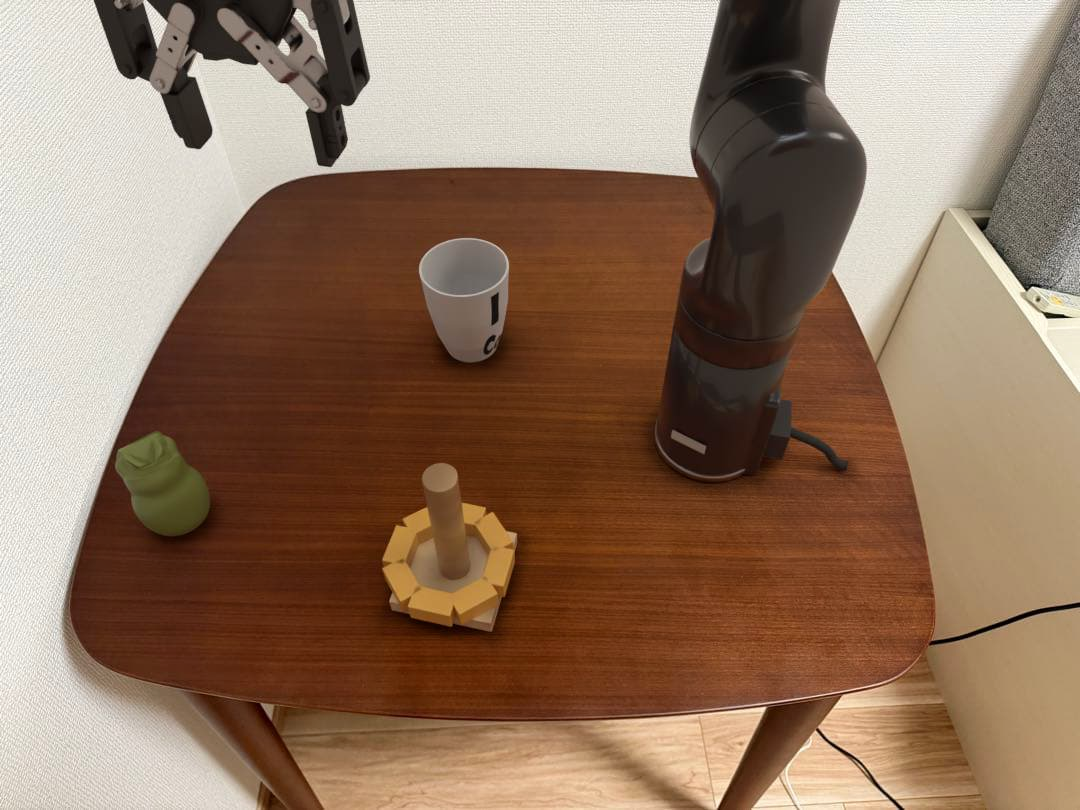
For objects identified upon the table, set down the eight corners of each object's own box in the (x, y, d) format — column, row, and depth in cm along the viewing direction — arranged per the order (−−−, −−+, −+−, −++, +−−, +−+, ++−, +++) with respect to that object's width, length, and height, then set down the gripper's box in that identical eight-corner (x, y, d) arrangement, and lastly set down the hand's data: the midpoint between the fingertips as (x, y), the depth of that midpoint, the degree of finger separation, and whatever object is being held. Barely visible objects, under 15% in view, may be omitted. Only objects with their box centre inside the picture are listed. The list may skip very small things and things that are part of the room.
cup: (501, 379, 78) (497, 302, 71) (420, 367, 79) (407, 289, 72) (520, 321, 84) (517, 243, 76) (443, 310, 85) (433, 233, 77)
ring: (525, 527, 66) (524, 515, 65) (493, 636, 60) (492, 625, 59) (412, 504, 67) (409, 491, 66) (370, 608, 61) (366, 597, 60)
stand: (517, 542, 67) (512, 441, 57) (491, 632, 62) (481, 539, 51) (424, 523, 68) (402, 421, 58) (391, 610, 63) (361, 515, 53)
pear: (163, 560, 66) (114, 489, 58) (141, 515, 69) (90, 442, 61) (229, 524, 68) (189, 452, 60) (204, 482, 71) (163, 408, 63)
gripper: (-12, -145, 36) (127, 171, 49) (288, -120, 34) (353, 202, 47) (84, -193, 41) (188, 106, 53) (352, -173, 39) (396, 132, 52)
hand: (265, 150), depth 50 cm, fingers open, 8 cm apart
